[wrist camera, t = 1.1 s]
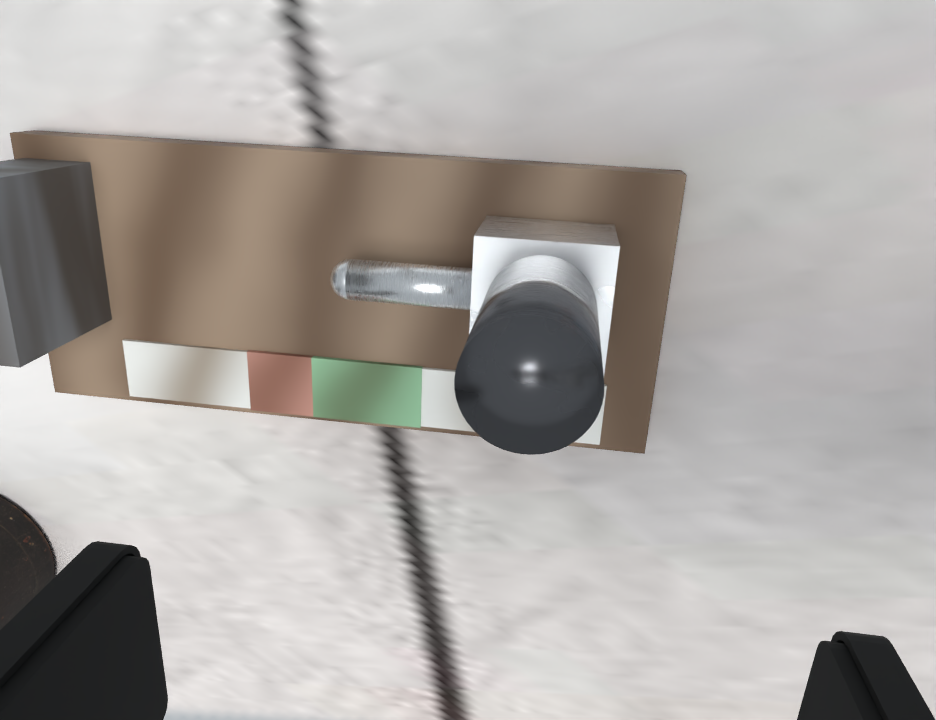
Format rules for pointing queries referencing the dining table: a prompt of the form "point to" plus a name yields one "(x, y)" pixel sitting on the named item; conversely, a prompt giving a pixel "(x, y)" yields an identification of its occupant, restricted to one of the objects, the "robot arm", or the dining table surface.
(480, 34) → the dining table surface
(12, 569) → the container
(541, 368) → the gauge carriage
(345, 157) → the gauge base
